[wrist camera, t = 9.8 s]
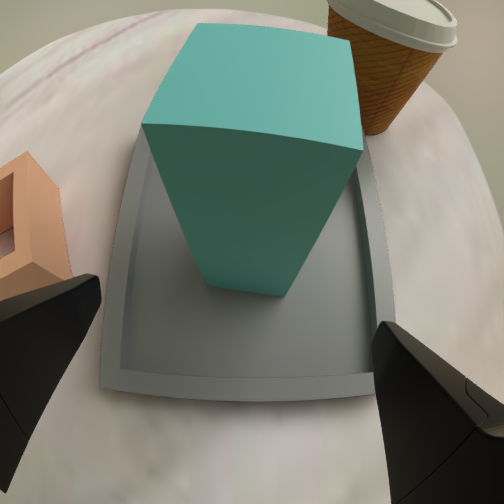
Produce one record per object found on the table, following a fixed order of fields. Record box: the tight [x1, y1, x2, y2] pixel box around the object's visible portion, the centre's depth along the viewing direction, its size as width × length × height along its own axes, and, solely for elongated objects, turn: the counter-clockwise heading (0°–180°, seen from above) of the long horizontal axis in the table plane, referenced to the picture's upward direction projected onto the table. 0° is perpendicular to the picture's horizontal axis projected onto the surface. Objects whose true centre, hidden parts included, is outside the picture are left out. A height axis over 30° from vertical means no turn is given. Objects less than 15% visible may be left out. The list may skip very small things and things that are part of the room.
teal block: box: [141, 23, 363, 297], centre depth 12 cm, size 4×4×12 cm
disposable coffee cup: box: [327, 0, 457, 135], centre depth 19 cm, size 10×10×12 cm
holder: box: [0, 151, 73, 301], centre depth 16 cm, size 8×8×5 cm
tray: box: [100, 125, 396, 401], centre depth 18 cm, size 18×16×2 cm
